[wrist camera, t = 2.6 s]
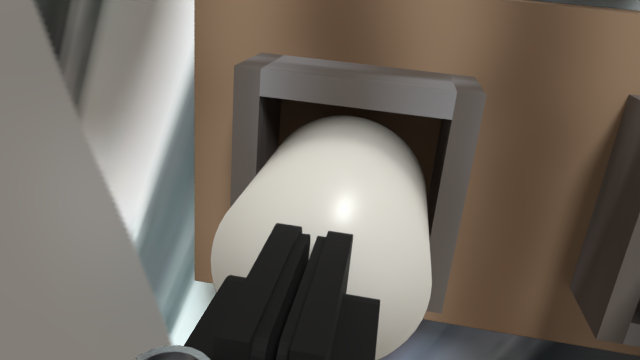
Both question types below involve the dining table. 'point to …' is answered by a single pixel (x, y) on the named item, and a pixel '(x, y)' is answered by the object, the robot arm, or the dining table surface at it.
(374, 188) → the knob
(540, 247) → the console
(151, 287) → the dining table surface
